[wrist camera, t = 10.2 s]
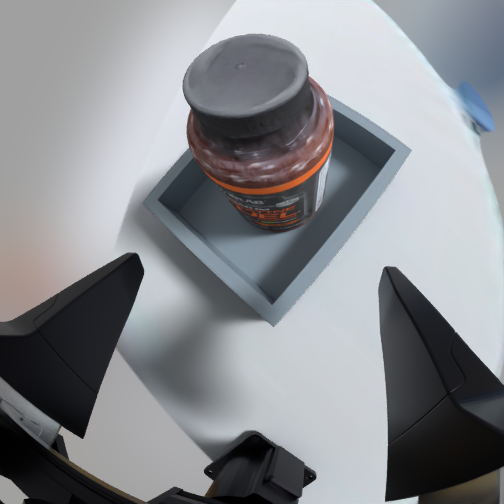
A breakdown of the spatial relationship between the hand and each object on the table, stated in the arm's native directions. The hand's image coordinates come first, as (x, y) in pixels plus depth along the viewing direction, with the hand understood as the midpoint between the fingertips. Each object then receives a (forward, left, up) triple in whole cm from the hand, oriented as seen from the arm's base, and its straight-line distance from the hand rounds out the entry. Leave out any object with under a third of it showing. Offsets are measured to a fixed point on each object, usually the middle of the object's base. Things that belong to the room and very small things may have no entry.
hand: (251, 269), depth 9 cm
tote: (+5, +4, -9) cm, 11 cm away
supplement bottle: (+5, +4, -8) cm, 10 cm away
